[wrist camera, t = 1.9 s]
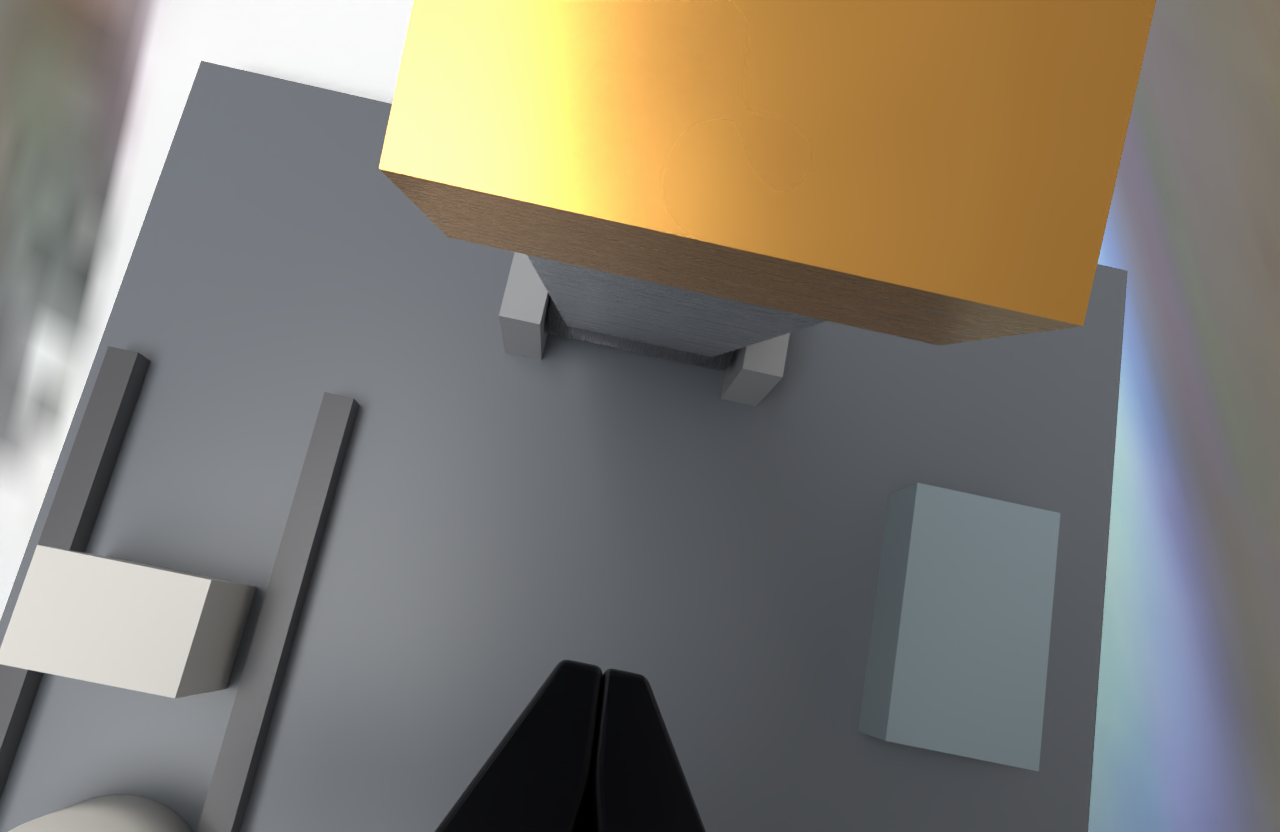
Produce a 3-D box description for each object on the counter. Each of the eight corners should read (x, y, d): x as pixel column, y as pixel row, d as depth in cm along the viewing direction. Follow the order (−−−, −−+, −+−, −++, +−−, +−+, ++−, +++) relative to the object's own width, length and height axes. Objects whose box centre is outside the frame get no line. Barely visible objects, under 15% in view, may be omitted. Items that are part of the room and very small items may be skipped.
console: (997, 1454, 17) (1120, 1682, 14) (-180, 1259, 16) (-398, 1447, 13) (1091, 293, 23) (1196, 227, 19) (224, 98, 22) (157, -12, 18)
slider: (226, 689, 18) (175, 698, 15) (71, 659, 18) (-6, 663, 15) (256, 586, 18) (211, 580, 16) (106, 556, 18) (37, 544, 16)
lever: (718, 376, 20) (1102, 331, 5) (548, 340, 20) (356, 163, 4) (738, 287, 20) (1188, -58, 5) (567, 249, 20) (443, -243, 4)
